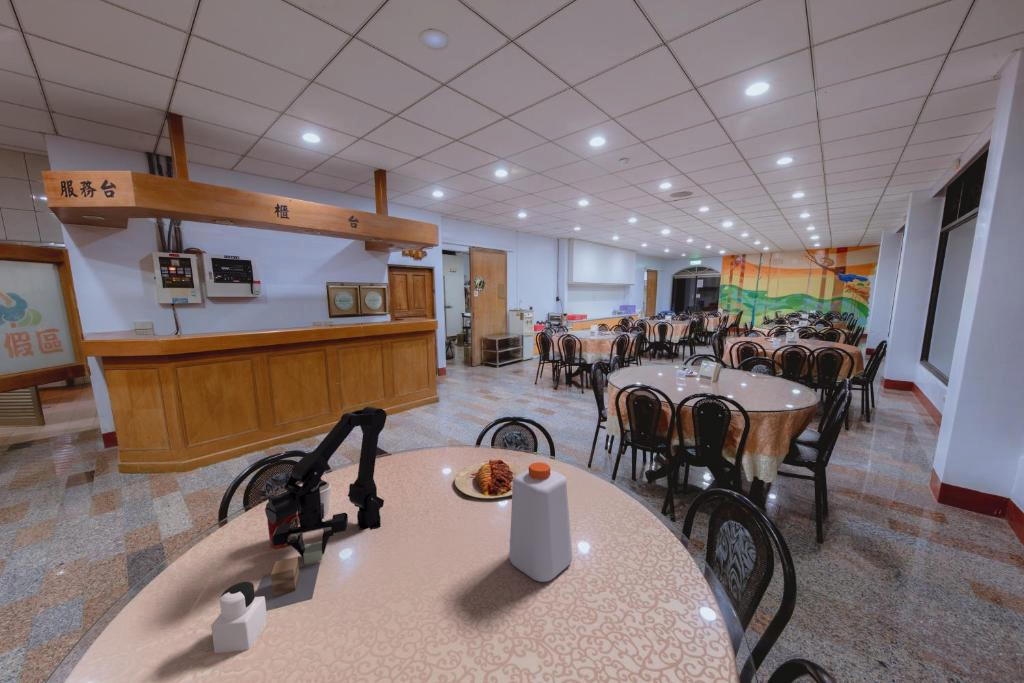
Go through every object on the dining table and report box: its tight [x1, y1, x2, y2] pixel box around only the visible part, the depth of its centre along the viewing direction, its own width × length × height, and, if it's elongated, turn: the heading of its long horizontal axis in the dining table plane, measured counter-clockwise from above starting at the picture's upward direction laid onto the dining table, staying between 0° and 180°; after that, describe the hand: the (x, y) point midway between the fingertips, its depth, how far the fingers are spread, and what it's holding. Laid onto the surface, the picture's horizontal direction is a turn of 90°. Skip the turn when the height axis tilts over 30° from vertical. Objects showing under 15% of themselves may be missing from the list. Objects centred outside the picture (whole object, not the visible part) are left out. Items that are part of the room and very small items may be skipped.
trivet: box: [255, 561, 321, 612], centre depth 96 cm, size 14×14×1 cm
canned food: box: [266, 513, 299, 549], centre depth 114 cm, size 8×8×11 cm
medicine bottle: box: [210, 581, 268, 654], centre depth 81 cm, size 7×7×12 cm
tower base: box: [272, 566, 300, 596], centre depth 96 cm, size 5×5×3 cm
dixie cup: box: [320, 481, 332, 518], centre depth 129 cm, size 8×8×10 cm
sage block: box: [303, 540, 324, 565], centre depth 107 cm, size 4×4×4 cm
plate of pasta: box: [454, 459, 526, 499], centre depth 151 cm, size 31×35×7 cm
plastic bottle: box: [508, 462, 573, 583], centre depth 103 cm, size 15×15×28 cm
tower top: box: [270, 556, 299, 585], centre depth 95 cm, size 5×5×3 cm
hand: (314, 555), depth 107 cm, fingers closed on sage block, 4 cm apart
